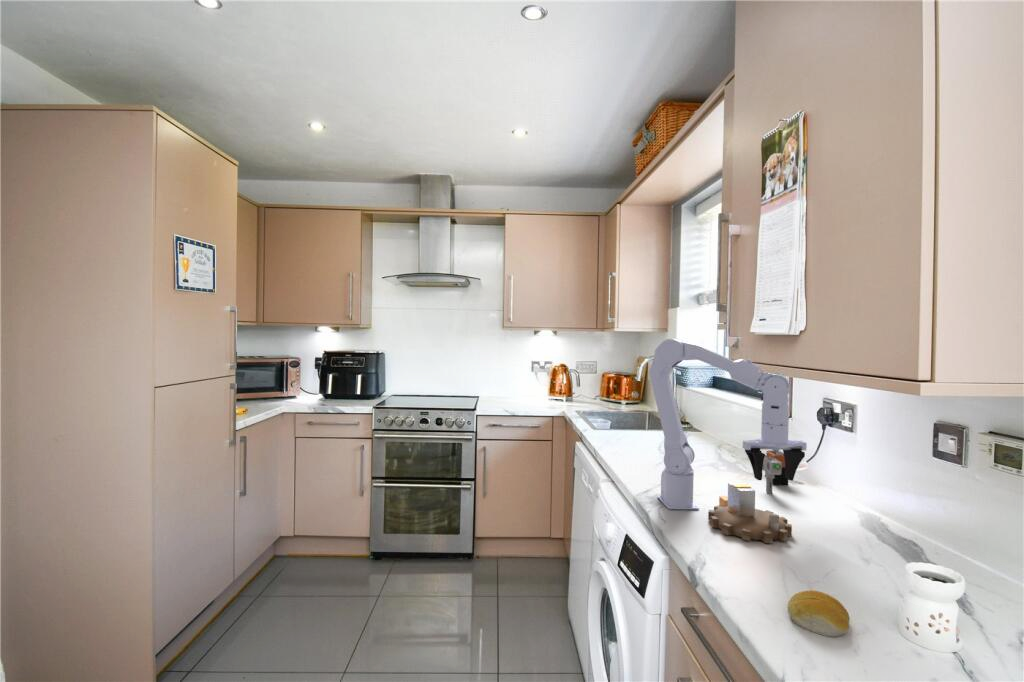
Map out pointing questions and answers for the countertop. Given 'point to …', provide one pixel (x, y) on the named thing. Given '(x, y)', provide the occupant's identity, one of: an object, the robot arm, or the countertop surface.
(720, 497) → the block
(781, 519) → the brown gear wheel
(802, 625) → the bread roll
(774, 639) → the countertop surface
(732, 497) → the white banded box
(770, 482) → the mechanical component
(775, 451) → the battery
